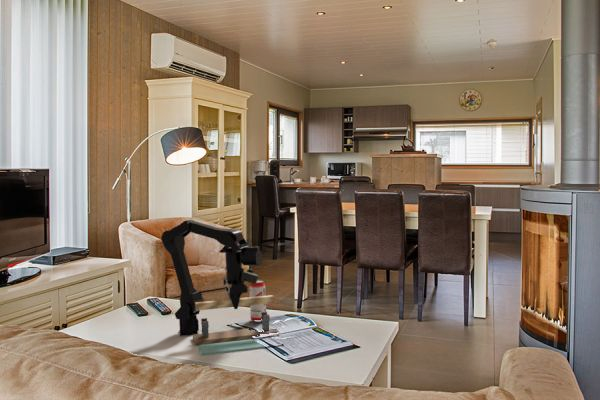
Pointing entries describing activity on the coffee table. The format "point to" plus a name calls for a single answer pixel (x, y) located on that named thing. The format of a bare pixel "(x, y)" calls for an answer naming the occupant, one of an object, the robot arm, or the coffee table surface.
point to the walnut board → (228, 336)
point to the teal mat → (229, 347)
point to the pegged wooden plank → (263, 315)
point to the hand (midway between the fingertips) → (235, 308)
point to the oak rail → (228, 303)
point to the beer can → (255, 291)
